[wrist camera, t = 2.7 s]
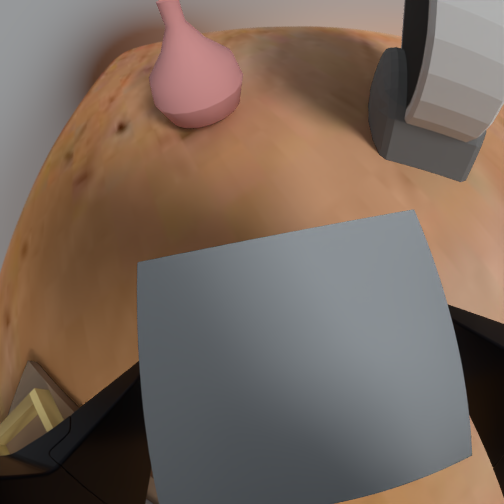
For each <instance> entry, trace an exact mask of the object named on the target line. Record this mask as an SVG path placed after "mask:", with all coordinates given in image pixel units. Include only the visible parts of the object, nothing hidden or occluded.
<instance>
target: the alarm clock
mask: <svg viewBox="0 0 504 504" xmlns="http://www.w3.org/2000/svg"><path fill="white" fill-rule="evenodd" d="M503 104H504V0H405V5H404V17H403V30H402V45H401V48H397V47H395V48H388V49H386V50H385V51H384V53H383V55H382V57H381V59H380V61H379V63H378V66H377V69H376V72H375V74H374V78H373V82H372V85H371V89H370V97H369V104H368V114H369V125H370V130H371V134H372V139H373V141H374V144H375V146H376V148H377V150H378V152H379V155H380V156H382V157H383V158H384V159H386V160H389V161H393V162H397V163H400V164H404V165H408V166H411V167H415V168H418V169H421V170H425V171H428V172H431V173H435V174H438V175H441V176H444V177H447V178H450V179H453V180H456V181H459V182H462V181H466V179H467V177H468V174H469V172H470V170H471V168H472V166H473V164H474V162H475V160H476V157H477V155H478V153H479V151H480V148H481V146H482V143H483V140H484V137H485V134H486V129H487V128H488V127H489V126H490V125H491V124H492V123H493V121H494V120H495V118H496V116H497V114H498V113H499V111H500V109H501V107H502V106H503Z"/></svg>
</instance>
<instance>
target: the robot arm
mask: <svg viewBox="0 0 504 504" xmlns="http://www.w3.org/2000/svg"><path fill="white" fill-rule="evenodd" d="M448 308H449V312H450V315H451V319H452V323H453V327H454V331H455V335H456V340H457V344H458V349H459V354H460V359H461V364H462V369H463V375H464V381H465V387H466V394H467V401H468V410H469V415H470V417H471V419H472V421H473V424H474V426H475V428H476V430H477V432H478V434H479V436H480V439H481V441H482V443H483V445H484V448H485V450H486V452H487V455H488V457H489V459H490V462H491V464H492V467H494V468H493V470H494V472H495V475H496V477H497V480H498V483H499V485H500V488H501V491H502V494H503V496H504V324H502V323H500V322H497V321H494V320H491V319H488V318H485V317H482V316H480V315H477V314H474V313H471V312H468V311H465V310H462V309H459V308H457V307H454V306H451V305H448ZM151 469H152V466H151V461H150V455H149V448H148V441H147V434H146V427H145V419H144V410H143V401H142V391H141V379H140V366H139V361H138V362H137V363H136V364H135V365H133V366H132V367H131V368H130V369H128V370H127V371H126V372H125V373H123V374H122V375H121V376H119V377H118V378H117V379H116V380H114V381H113V382H112V383H111V384H109V385H108V386H107V387H106V388H104V389H103V390H102V391H100V392H99V393H98V394H97V395H95V396H94V397H93V398H92V399H90V400H89V401H88V402H86V403H85V404H84V405H83V406H81V407H80V408H79V409H78V410H76V411H75V412H74V413H72V414H71V416H68V417H67V418H66V419H65V420H63V421H62V422H61V423H59V424H58V425H57V426H55V427H54V428H53V429H51V430H50V431H48V432H47V433H45V434H44V435H42V436H41V437H39V438H37V439H36V440H34V441H33V442H31V443H30V444H28V445H26V446H25V447H23V448H22V449H20V450H19V451H17V452H15V453H12V454H9V455H3V456H0V504H146V498H147V492H148V486H149V480H150V475H151Z"/></svg>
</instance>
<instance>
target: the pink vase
mask: <svg viewBox="0 0 504 504" xmlns="http://www.w3.org/2000/svg"><path fill="white" fill-rule="evenodd" d="M156 4H157V6H158V9H159V11H160V14H161V16H162V19H163V22H164V24H165V32H164V37H163V43H162V49H161V53H160V55H159V57H158V59H157V61H156V63H155V66H154V68H153V70H152V72H151V74H150V76H149V80H150V86H151V91H152V95H153V99H154V103H155V106H156V107H157V108H158V109H159V110H160V111H161V112H162V113H163V114H164V115H165V116H166V117H167V118H168V119H170V120H171V121H172V122H173V123H174V124H175V125H176V126H180V127H183V128H199V127H203V126H207V125H211V124H214V123H216V122H218V121H220V120H222V119H224V118H226V117H227V116H228V115H229V114H231V113H232V112H233V111H234V110H235V109H236V107H237V106H238V104H239V102H240V94H241V86H242V78H243V73H242V71H241V69H240V67H239V65H238V63H237V61H236V59H235V57H234V55H233V53H232V52H231V50H230V49H229V48H227V47H225V46H223V45H221V44H219V43H217V42H215V41H213V40H211V39H208V38H206V37H204V36H203V35H202V34H201V33H200V32H199V31H198V30H196V29H195V28H194V27H193V26H192V25H191V24H189V23H188V22H187V21H186V20H185V18H184V15H183V12H182V9H181V6H180V3H179V0H158V1H157V2H156Z"/></svg>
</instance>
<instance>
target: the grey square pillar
mask: <svg viewBox="0 0 504 504" xmlns="http://www.w3.org/2000/svg"><path fill="white" fill-rule="evenodd" d="M137 322H138V349H139V366H140V379H141V391H142V401H143V410H144V419H145V427H146V434H147V441H148V448H149V455H150V461H151V466H152V472H153V477H154V483H155V488H156V492H157V497H158V502H159V504H334V503H339V502H344V501H348V500H352V499H356V498H361V497H364V496H368V495H372V494H375V493H379V492H382V491H386V490H389V489H392V488H395V487H398V486H401V485H404V484H407V483H410V482H412V481H415V480H418V479H420V478H423V477H426V476H428V475H431V474H433V473H435V472H438V471H440V470H442V469H445V468H447V467H449V466H451V465H453V464H456V463H458V462H460V461H462V460H464V459H466V458H468V457H470V456H472V445H471V430H470V419H469V410H468V401H467V394H466V387H465V381H464V375H463V369H462V364H461V359H460V354H459V349H458V344H457V340H456V335H455V331H454V327H453V323H452V319H451V315H450V312H449V308H448V304H447V301H446V297H445V294H444V291H443V287H442V284H441V281H440V278H439V275H438V272H437V269H436V266H435V263H434V260H433V257H432V254H431V251H430V249H429V246H428V243H427V241H426V238H425V235H424V233H423V230H422V228H421V225H420V223H419V220H418V218H417V216H416V213H415V211H414V210H408V211H402V212H397V213H391V214H386V215H380V216H375V217H369V218H364V219H358V220H353V221H347V222H342V223H336V224H331V225H326V226H320V227H315V228H310V229H304V230H299V231H294V232H288V233H283V234H278V235H273V236H267V237H262V238H257V239H252V240H247V241H242V242H237V243H231V244H226V245H221V246H216V247H211V248H206V249H201V250H196V251H191V252H186V253H181V254H176V255H171V256H166V257H161V258H157V259H152V260H147V261H142V262H138V265H137Z"/></svg>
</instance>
